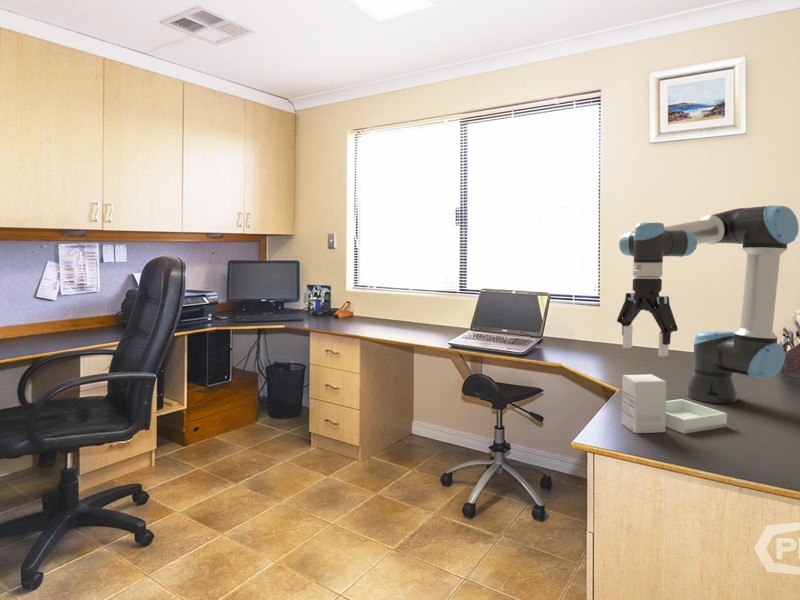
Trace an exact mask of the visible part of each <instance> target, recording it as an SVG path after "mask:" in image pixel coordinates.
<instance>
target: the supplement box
mask: <svg viewBox="0 0 800 600" xmlns="http://www.w3.org/2000/svg"><path fill="white" fill-rule="evenodd" d="M621 385H622V386H621V387H622V391H621V392H622V393H621V424H622V426H624V427H626V428H627V429H629V430H630V431H632V432H633V433H635V434H649V433H666V426H665V424H666V401H667V381H666V380H664V379H662V378H659V377H658V376H656V375H654V374H650V373H649V374H623V375H622V384H621Z"/></svg>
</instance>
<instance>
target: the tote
mask: <svg viewBox="0 0 800 600" xmlns="http://www.w3.org/2000/svg"><path fill="white" fill-rule="evenodd" d="M727 421H728V413H726V412H724V411H721V410H717V409H714V408H712V407H707V406H705V405H702V404H698V403H695V402H693V401H689V400H686V399H683V398H677V399H672V400H666V424H665V428H668V429H671V430H674V431H676V432H679V433H681V434H690V433H697V432H703V431H710V430H714V429H720V428H721V429H723V428H727Z"/></svg>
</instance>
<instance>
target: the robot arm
mask: <svg viewBox="0 0 800 600" xmlns="http://www.w3.org/2000/svg"><path fill="white" fill-rule="evenodd" d="M798 234H799V221H798V218H797V215H796V214H795V213H794V211H793V210H792V209H791V208H790V207H788V206H785V205H766V206H765V205H763V206H752V207H742V208H741V207H740V208H734V209H730V210H725V211H722V212H718V213H715V214H710V215H706V216H704V217H702V218H701V219H700V220H696V221H695V220H694V221H691V222H690V221H689V222H688V221H687V222H684V223H679V224H673V225H668V226H665V225H664V222H640V223H637V224H636V225H635V228H634V231H631V232H630V231H629V232H625V233H624V234H623V235H621V237H620V239H619V241H618V242H619V243H618V244H619V245H618V246H619V250H620V252H621V253H622V254H623V255H625V256H629V257H630V256H631V257H633V269H632V272H633V273H632V275H633V277H634V278H633V279H632V291H633V292H627V293H625V299H624V301H623V304H622V307H621V310H620V311H619V314H618V317H617V319H616V322H617V323H618V324H619V323H620V325H621V327H622V330H621V335H622V348H624V349H630V348H633V329H634V328H633V324H632V323H633V321H634V320H635V319H636V318H637V316H638V315H639V313H640V312H641V311H645V312H648V313H650V314H651V315H652V317H653V318H654V320H655V322H656V324H657V326H658V327H659V329H660V332H659V333H658V354H657V356H658V357H669V347H670V344H671V337H672V336H671V334H672V333H673V332H677V331H678V330H679V328H678V325H677V323H676V320H675V317H674V316H675V315H674V314H673V311H672V308H671V305H670V297H669V295H665V296H662V295H661V296H660V292H661V291H662V289H663V288H662V287H663V284H662V283H663V282H662V281H663V280H662V277H663V263H664V262H663V261H664V257H678V258H679V257H680V258H682V257H687V256H691V255H692V254H693V253H695V251H696V248H697V246H698V245H701V244H708V245H716V244H733V245H734V244H736V245H741V244H742V250H743V251H744V252H745V253H746V254H747V256H746V257H747V258H746V265H745V266H746V267H745V277H744V278H745V279H744V284H743V285H744V286H743V297H742V306H741V308H742V309H741V315H740V327H739V329H737V330H736V331H729V330H728V331H725V330H724V331H721V330H720V331H719V330H718V331H702V332H698V333H696V335H695V337H694V343H693V372H692V373H693V374H692V377H691V378H690V381H689V384H688V386H687V389H686V396H687V397H688V398H690V399H693V400H696V401H700V402H704V403H712V404H733V403H736V402H737V401H738V392H737V390H736V386H735V383H734V379H733V373H734V374H736V375H737V374H739V375H742V376H748V377H750V378H752V379H756V378H757V379H763V380H769V379H772V378H774V376H776V375H777V374H778V373H779V372H780V371H781V369H783V367H784V363H785V360H786V351H785V347H783V345H781V344H780V343H778V336H777V335H776V334H775V333H774V330H773V329H774V327H773V326H774V319H775V317H774V316H775V308H776V302H777V301H776V300H777V288H778V281H779V269H780V261H781V260H780V259H781V255H782V254H783V253H785V252H786V251H788V244H791V243H793V242H794V241H795V240H797V239H796V238H797V237H798Z"/></svg>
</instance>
